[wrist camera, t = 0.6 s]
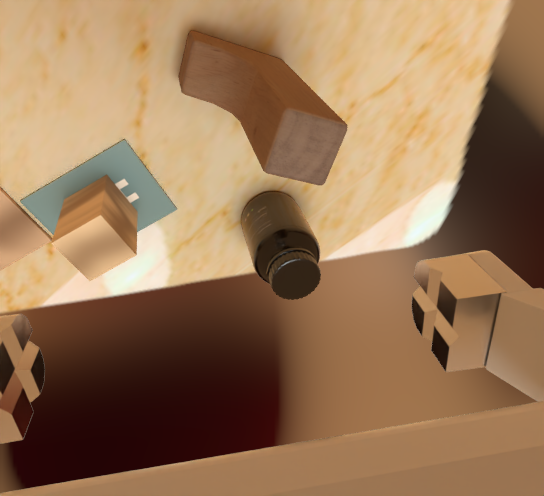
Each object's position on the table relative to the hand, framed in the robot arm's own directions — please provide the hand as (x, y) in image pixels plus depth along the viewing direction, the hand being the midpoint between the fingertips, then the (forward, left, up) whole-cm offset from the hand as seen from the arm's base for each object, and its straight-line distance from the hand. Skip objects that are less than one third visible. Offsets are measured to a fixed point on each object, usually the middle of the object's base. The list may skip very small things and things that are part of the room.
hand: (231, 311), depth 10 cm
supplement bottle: (+22, -1, -38) cm, 44 cm away
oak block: (+11, -15, -37) cm, 42 cm away
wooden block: (+6, +3, -38) cm, 38 cm away
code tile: (+11, -15, -38) cm, 42 cm away
